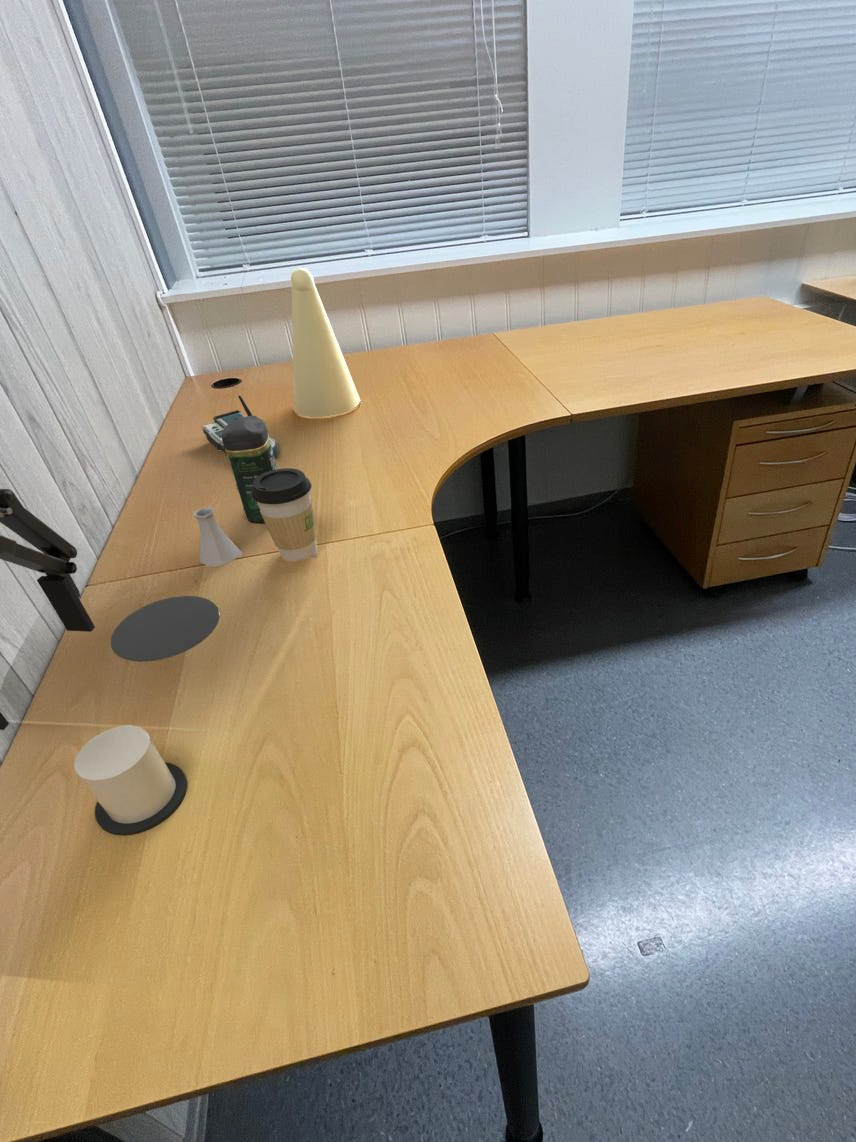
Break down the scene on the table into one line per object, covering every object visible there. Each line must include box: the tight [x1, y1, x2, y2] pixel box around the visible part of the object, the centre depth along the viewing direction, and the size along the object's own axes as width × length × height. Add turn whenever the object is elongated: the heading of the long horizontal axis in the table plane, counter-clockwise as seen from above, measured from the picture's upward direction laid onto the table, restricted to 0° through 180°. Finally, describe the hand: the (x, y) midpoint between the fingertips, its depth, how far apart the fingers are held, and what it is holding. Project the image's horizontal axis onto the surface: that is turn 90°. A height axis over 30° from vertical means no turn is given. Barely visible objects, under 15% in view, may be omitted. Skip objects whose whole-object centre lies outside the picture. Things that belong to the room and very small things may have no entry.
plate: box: [110, 595, 221, 662], centre depth 97 cm, size 16×16×1 cm
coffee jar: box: [221, 415, 278, 524], centre depth 119 cm, size 10×8×19 cm
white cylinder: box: [73, 724, 176, 824], centre depth 70 cm, size 8×8×8 cm
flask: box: [193, 507, 244, 567], centre depth 109 cm, size 7×7×10 cm
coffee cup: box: [251, 467, 318, 562], centre depth 107 cm, size 10×10×15 cm
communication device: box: [201, 395, 280, 459], centre depth 148 cm, size 12×24×9 cm, turn 39°
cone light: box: [290, 267, 361, 417], centre depth 157 cm, size 25×18×35 cm
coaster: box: [94, 761, 188, 836], centre depth 73 cm, size 10×10×1 cm
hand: (41, 673), depth 61 cm, fingers open, 13 cm apart
